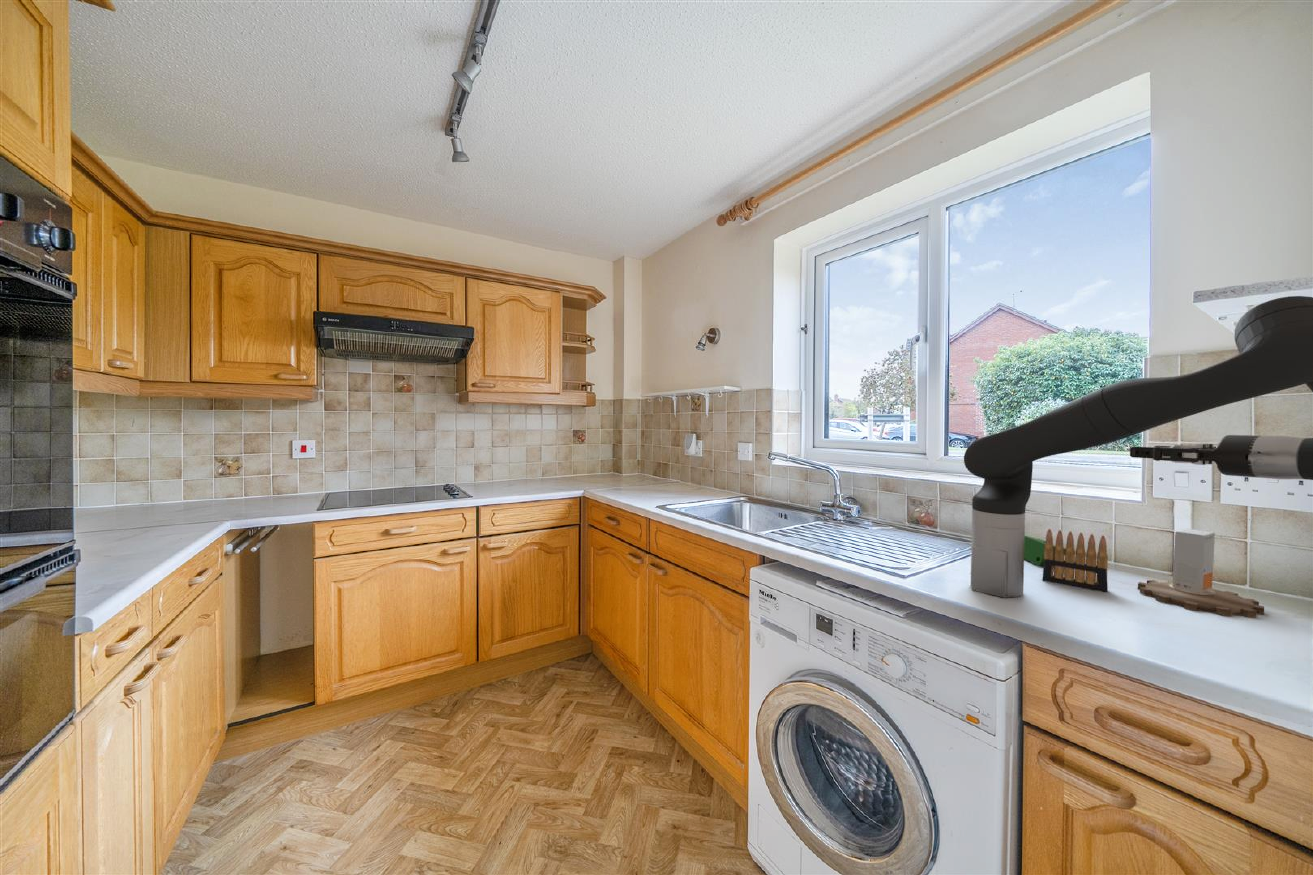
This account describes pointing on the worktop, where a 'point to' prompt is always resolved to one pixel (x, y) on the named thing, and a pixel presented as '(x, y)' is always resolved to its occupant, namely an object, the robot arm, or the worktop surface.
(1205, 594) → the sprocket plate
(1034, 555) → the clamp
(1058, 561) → the ammunition clip
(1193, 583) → the skincare box
